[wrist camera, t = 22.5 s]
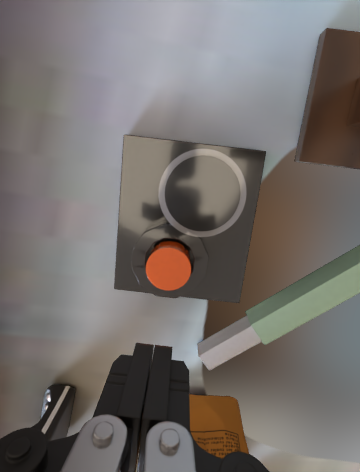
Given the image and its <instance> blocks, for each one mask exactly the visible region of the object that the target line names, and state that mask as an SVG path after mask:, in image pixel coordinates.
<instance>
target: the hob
mask: <svg viewBox="0 0 360 472" xmlns="http://www.w3.org/2000/svg"><path fill="white" fill-rule="evenodd" d="M195 149H212V150H216V151H219V152H221V153H223V154H225V155H227V156H228V157H230V158H231V159H232V160H233V161H234V162H235V163H236V164H237V166H238V167H239V168H240V170H241V172H242V174H243V176H244V179H245V183H246V193H247V194H246V201H245V205H244V208H243V211H242V213H241V214H240V216H239V218H238V219H237V220H236V222H235V223H234V224H233V225H232V226H230V227H229V228H228V229H227V230H225V231H223V232H221V233H219V234H217V235H214V236H209V237H195V236H190V235H187V234H184V233H182V232H180V231H179V230H177V229H176V228H175V227H173V226H172V225H171V224H170V223H169V222H168V220H167V219H166V217H165V216H164V214H163V212H162V210H161V207H160V203H159V184H160V181H161V178H162V175H163V173H164V171H165V170H166V168H167V167H168V165H169V164H170V163H171V162H172V161H173V160H174V159H175V158H177V157H178V156H180V155H181V154H183V153H185V152H188V151H190V150H195ZM265 156H266V151H260V150H251V149H243V148H234V147H226V146H217V145H209V144H200V143H192V142H183V141H175V140H166V139H158V138H149V137H141V136H132V135H124V140H123V156H122V172H121V188H120V204H119V220H118V236H117V252H116V268H115V284H114V289H118V290H127V291H136V292H145V293H152V294H154V295H155V296H160V297H169V298H177V297H189V298H198V299H207V300H216V301H225V302H234V303H239V301H240V296H241V290H242V285H243V279H244V273H245V268H246V262H247V257H248V251H249V246H250V240H251V234H252V228H253V223H254V217H255V212H256V206H257V201H258V195H259V190H260V184H261V178H262V173H263V167H264V161H265ZM164 241H175V242H178V243H180V244H182V245H183V246H184V247H185V248H186V249H187V250H188V252H189V254H190V258H191V275H190V278H189V279H188V281H187V282H186V283H185V284H184V285H183V286H182V287H180V288H178V289H175V290H162V289H159V288H157V287H156V286H154V285H153V284H152V283H151V282H150V280H149V279H148V277H147V274H146V263H147V260H148V258H149V255H150V253H151V251H152V249H153V248H154V247H155V246H156V245H158V244H159V243H161V242H164Z"/></svg>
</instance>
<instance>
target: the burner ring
mask: <svg viewBox="0 0 360 472" xmlns="http://www.w3.org/2000/svg"><path fill="white" fill-rule="evenodd" d="M246 194H247V193H246V183H245V179H244V176H243V174H242V172H241V170H240V168H239V167H238V166H237V164H236V163H235V162H234V161H233V160H232V159H231V158H230V157H228V156H227V155H225V154H223V153H221V152H219V151H216V150H212V149H195V150H190V151H188V152H185V153H183V154H181V155H180V156H178V157H177V158H175V159H174V160H173V161H172V162H171V163H170V164H169V165H168V167H167V168H166V170H165V171H164V173H163V175H162V178H161V181H160V184H159V203H160V207H161V210H162V212H163V214H164V216H165V217H166V219H167V220H168V222H169V223H170V224H171V225H172V226H173V227H175V228H176V229H177V230H179V231H180V232H182V233H184V234H187V235H190V236H195V237H209V236H214V235H217V234H219V233H221V232H223V231H225V230H227V229H228V228H229V227H230V226H232V225H233V224H234V223H235V222H236V220H237V219H238V218H239V216H240V214H241V213H242V211H243V208H244V205H245V201H246Z"/></svg>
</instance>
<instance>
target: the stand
mask: <svg viewBox="0 0 360 472" xmlns="http://www.w3.org/2000/svg"><path fill="white" fill-rule="evenodd" d="M295 162H302V163H310V164H319V165H328V166H336V167H345V168H354V169H360V32H355V31H347V30H339V29H330V28H327V29H325V30H324V31H323V32H322V33H321V34H320V37H319V42H318V47H317V52H316V57H315V62H314V67H313V72H312V77H311V82H310V87H309V91H308V96H307V101H306V106H305V111H304V116H303V121H302V126H301V131H300V136H299V141H298V146H297V151H296V156H295Z"/></svg>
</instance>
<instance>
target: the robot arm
mask: <svg viewBox="0 0 360 472" xmlns="http://www.w3.org/2000/svg"><path fill="white" fill-rule="evenodd" d="M153 348H154V345H150V344H141V343H136V345H135V349H134V353H133V356H130V355H120V356H119V357H118V358H117V359H116V360H115V361H114V362H113V364H112V367H111V369H110V372H109V375H108V378H107V380H106V383H105V386H104V388H103V391H102V394H101V396H100V399H99V402H98V404H97V407H96V410H95V412H94V415H93V417H92V419H90V420H89V421H88V422H86V423H85V424H84V426H83V427H82V428H81V430H80V432H78V433H76V434H74V435H72V436H70V437H66V438H61V439H56V440H51V441H47V437H46V435H45V434H44V433H43V432H42V431H40V430H38V429H35V428H24V429H20V430H16V431H14V432H12V433H10V434H8V435H6V436H5V437H3V438H1V439H0V472H135V471H136V465H137V459H138V468H137V472H269V471H268V470H267V469H266V467H265V466H264V465H263V464H262V463H261V462H260V461H259V460H258V459H256V458H255V457H253V456H252V455H250V454H247V453H245V452H231V453H229V454H227V455H226V456H225V457H224V458H223V459H221V458H219V457H217V456H215V455H212V454H210V453H208V452H206V451H205V450H203V449H202V448H201V447H200V446H199V445H198V444H197V443H196V442H195V440H194V438H193V436H192V434H191V430H190V399H189V370H188V368H187V366H186V365H185V363H184V361H176V360H171V357H172V347H169V346H160V345H155V348H154V354H153ZM152 357H153V360H152ZM139 447H140V448H139ZM138 453H139V458H138Z"/></svg>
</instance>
